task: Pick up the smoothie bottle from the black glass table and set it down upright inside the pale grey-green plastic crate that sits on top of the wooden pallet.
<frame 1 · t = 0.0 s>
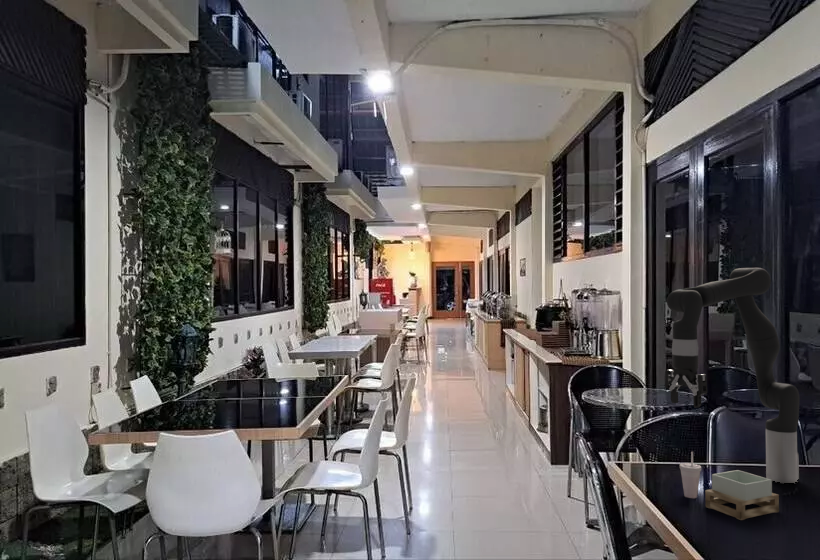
hand: (685, 405, 196), 29 cm above the table, fingers open, 8 cm apart
wooden pallet: (741, 509, 185), on the table
grey crate: (741, 492, 185), resting on wooden pallet
smoothie: (690, 496, 197), on the table
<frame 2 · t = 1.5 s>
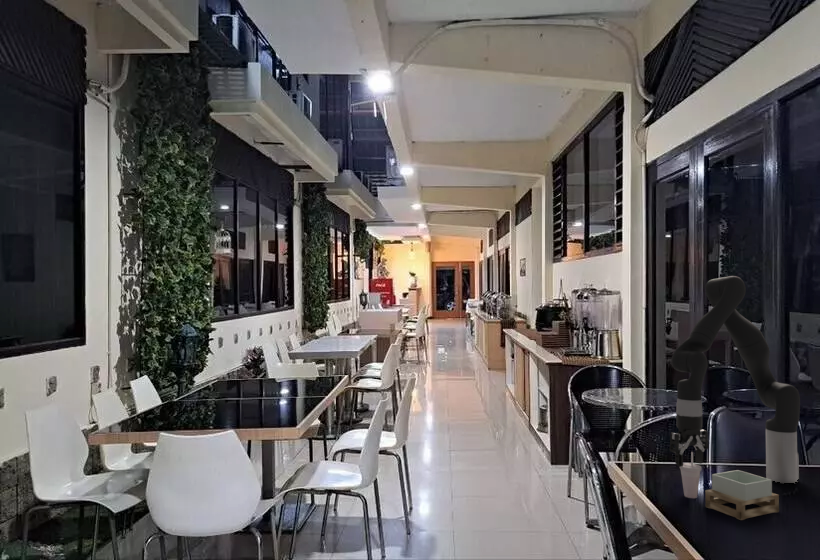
hand: (689, 464, 198), 10 cm above the table, fingers open, 8 cm apart
nothing on the table moved.
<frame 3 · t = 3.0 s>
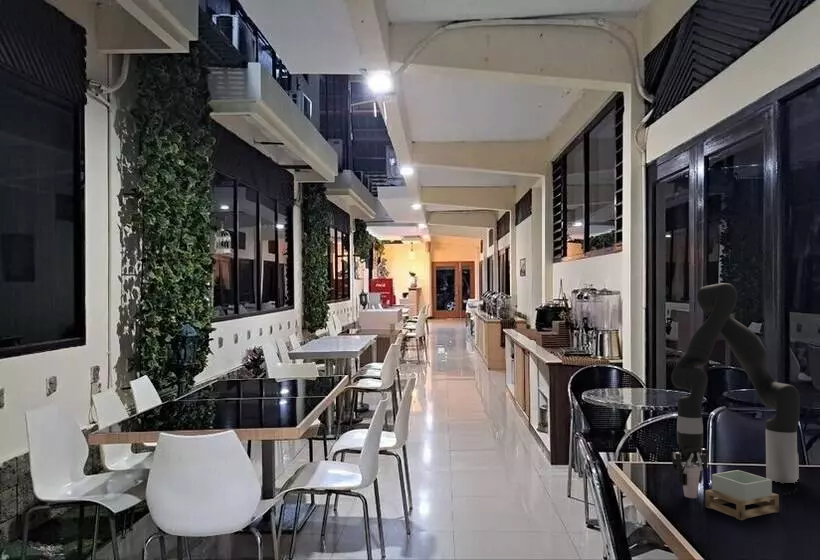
hand: (690, 483, 197), 4 cm above the table, fingers closed on smoothie, 5 cm apart
smoothie: (690, 496, 197), on the table, touching gripper
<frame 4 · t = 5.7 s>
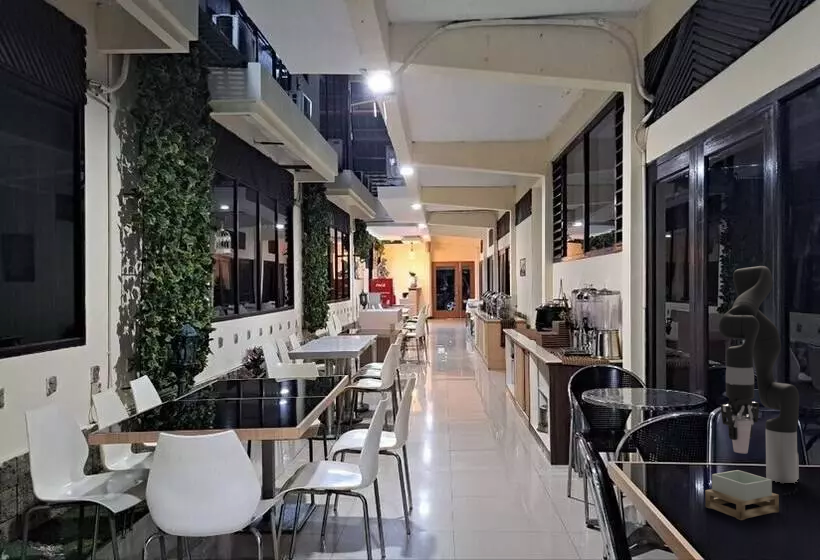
hand: (740, 438, 186), 21 cm above the table, fingers closed on smoothie, 5 cm apart
smoothie: (740, 452, 186), point 17 cm above the table, touching gripper
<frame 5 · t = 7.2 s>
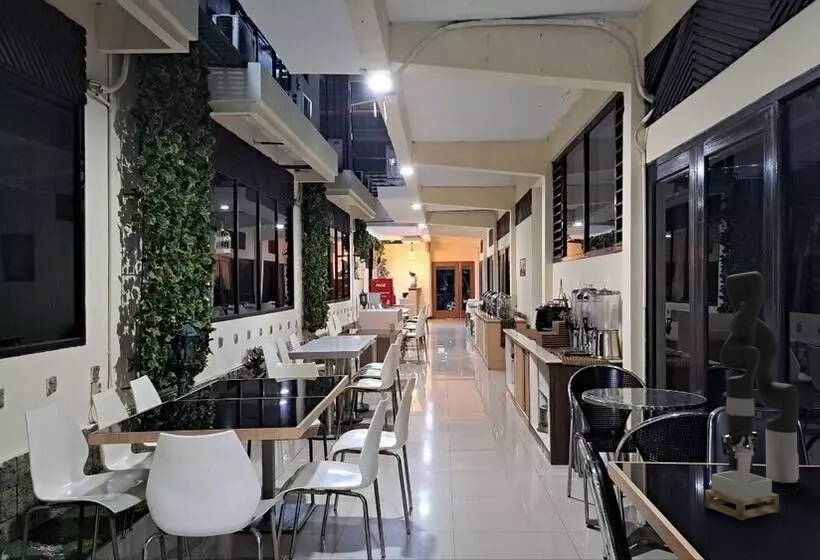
hand: (740, 468, 186), 12 cm above the table, fingers closed on smoothie, 5 cm apart
smoothie: (740, 483, 185), point 8 cm above the table, touching gripper
when the fingers open (11 cm above the table, at t = 8.4 s): smoothie drops 1 cm, resting on grey crate.
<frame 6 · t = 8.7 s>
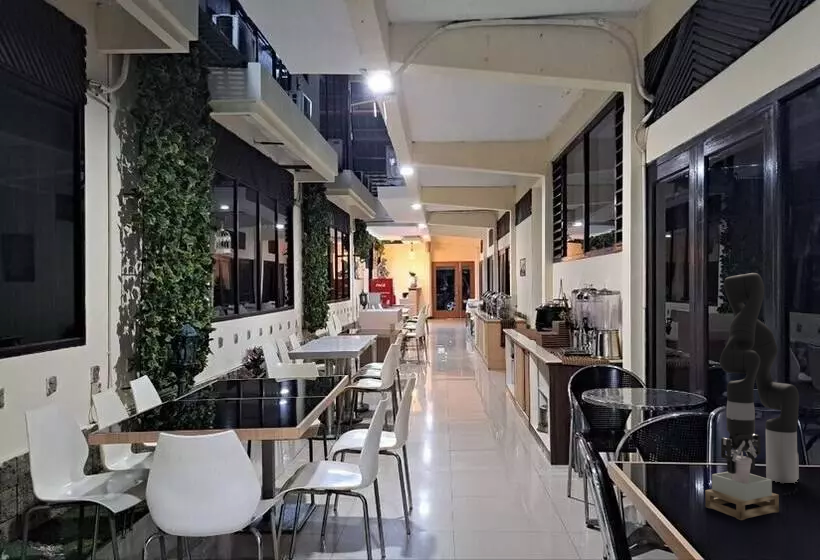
hand: (741, 471, 185), 11 cm above the table, fingers open, 8 cm apart
smoothie: (740, 491, 185), point 5 cm above the table, touching grey crate
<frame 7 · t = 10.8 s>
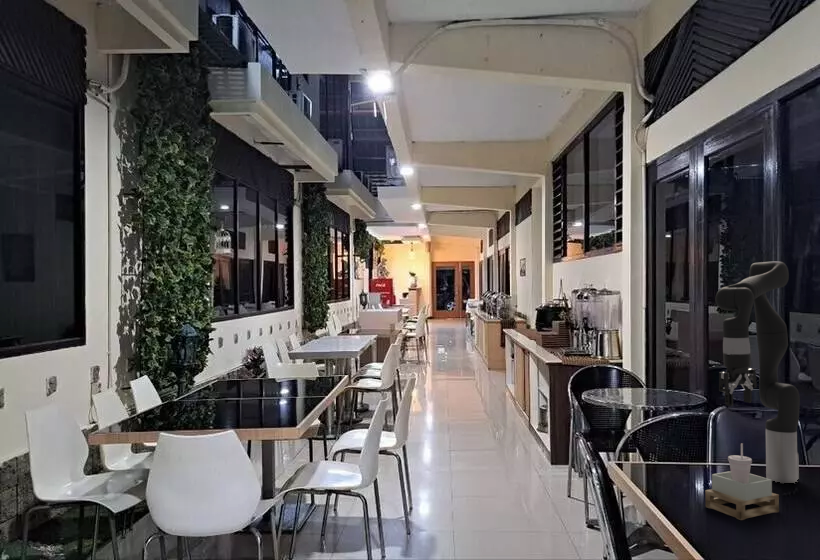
hand: (738, 403, 193), 30 cm above the table, fingers open, 8 cm apart
nothing on the table moved.
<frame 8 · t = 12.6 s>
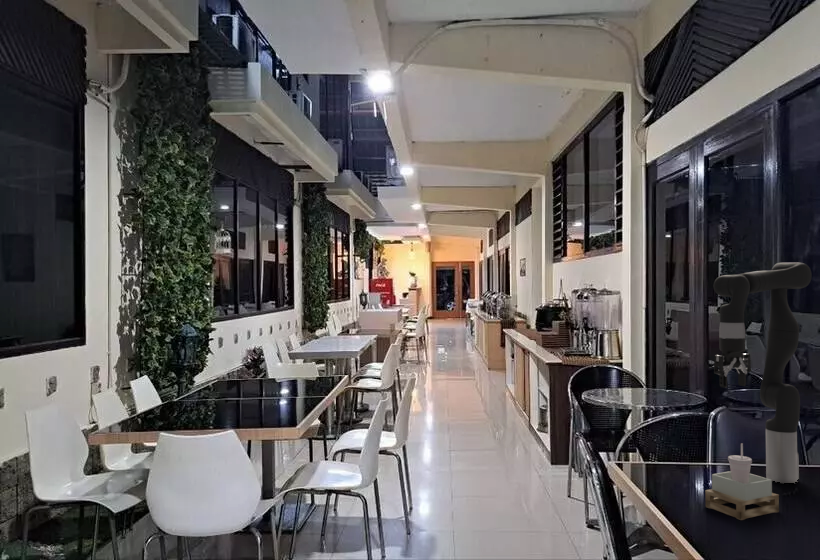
hand: (732, 386, 202), 34 cm above the table, fingers open, 8 cm apart
nothing on the table moved.
at the end: smoothie inside the target area on the grey crate (0.5 cm from its centre), point 0.4 cm above the grey crate's base; smoothie tilted 0°; the gripper is holding nothing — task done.
